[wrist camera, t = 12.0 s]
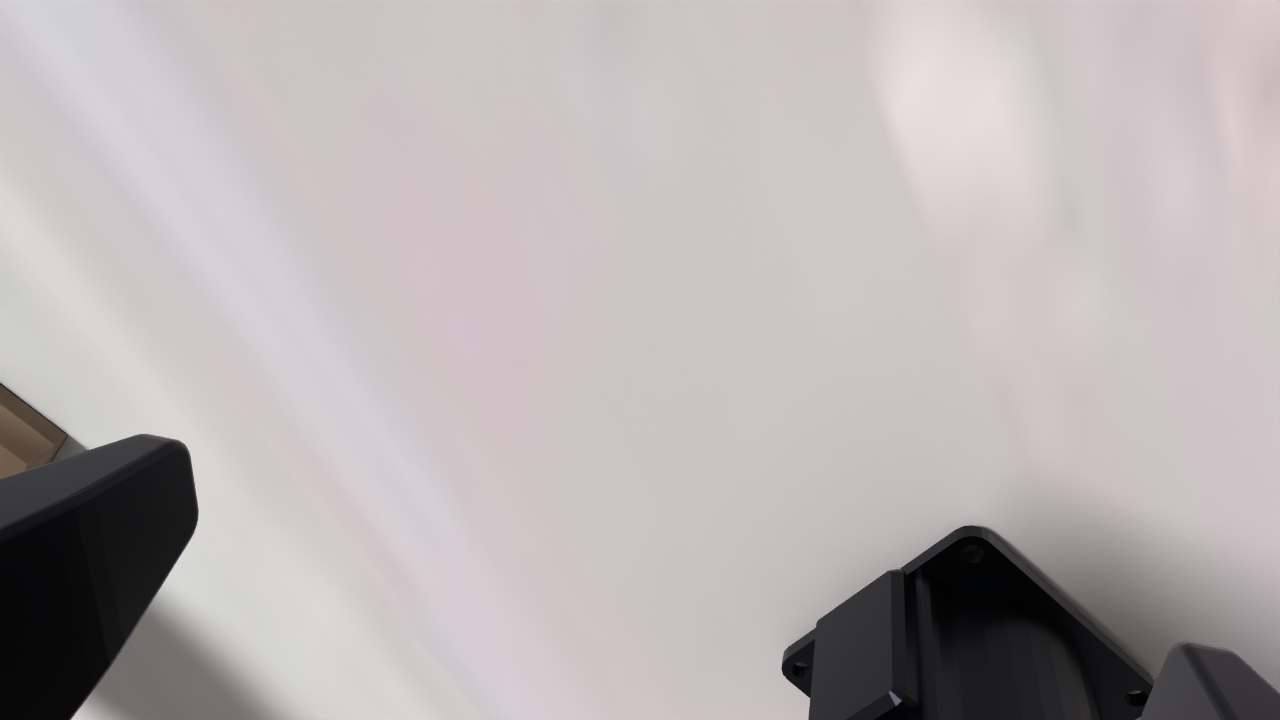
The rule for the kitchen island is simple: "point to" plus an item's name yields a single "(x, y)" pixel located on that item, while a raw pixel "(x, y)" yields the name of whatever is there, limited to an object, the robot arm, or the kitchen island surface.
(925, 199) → the kitchen island surface
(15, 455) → the square brown tray
